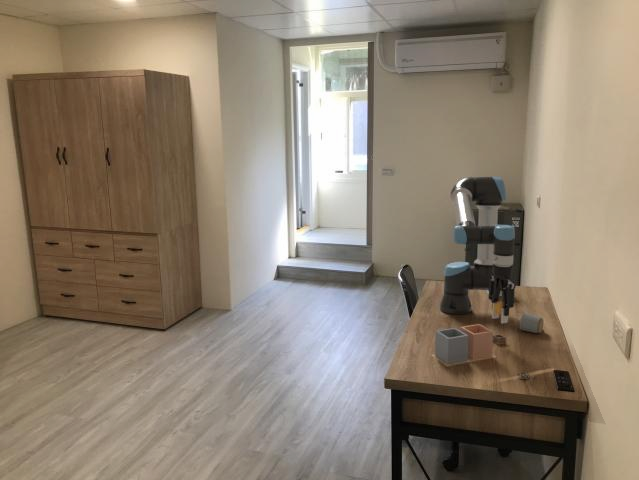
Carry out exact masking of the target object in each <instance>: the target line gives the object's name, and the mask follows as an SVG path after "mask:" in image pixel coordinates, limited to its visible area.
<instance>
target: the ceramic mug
mask: <svg viewBox="0 0 639 480" xmlns="http://www.w3.org/2000/svg"><path fill="white" fill-rule="evenodd" d="M543 328H544V318H543V317H541V316H538V315H534V314H530V313H527V312H523V313H522V315H521V317H520V320H519V329H520V331H523V332H528V333H534V334H541V332H542V331H543Z"/></svg>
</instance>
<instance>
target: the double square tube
mask: <svg viewBox="0 0 639 480" xmlns="http://www.w3.org/2000/svg"><path fill="white" fill-rule="evenodd" d="M493 335H494V330H492V329H490V328H488V327H486V326H484V325H482V324H481V323H477V324H472V325H464V326H460V327H459V329H458V328H457V327H451V328H447V329H446V328H445V329H440V330H439V329H438V330H435V335H434V336H435V339H434V340H435V342H434V343H435V345H434V347H435V348H434V354H430V356H431V357H433V358H434V359H436V360H437V361H439V363H441V364H443V365H444V366H445V367H451V366H456V365H462V364H466V363H473V362H479V361H483V360H489V359H495V358H497V356H496V355H494V354H493V346H494V345H493V343H494V342H493Z"/></svg>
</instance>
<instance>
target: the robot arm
mask: <svg viewBox="0 0 639 480" xmlns="http://www.w3.org/2000/svg"><path fill="white" fill-rule="evenodd" d="M450 201H451V203H452V204H453V207H454V215H455V222H456V225H455V226H454V227H453V230H452V239H453V240H452V241H453V243H454V244H456V245H457V244H458V245H477V258H476V259H475V260H474V261H473V265H470V262H467V261H456V262H455V261H454V262H451V263H448V264H446V266H445V267H444V273H443V276H444V280H443V281H444V282H443V295H442V297H441V300H440V302H439V310H440V311H441V312H443V313H446V314H451V315H466V314H469V313H470V314H471V312H472V308H473V307H472V303H471V300H470V296H469V291H470V290H471V291H472V290H473V291H477V290H478V291H486V290H488V291H489V295H488V300H489V301H491V310H492V311H491V319H499V318H500V317H501V318H500V324H506V323H508V322H509V315H510V309H511V308H514V306H515V304H514V303H515V289H516V287H517V284H516V283H513V282H512V280H511V276H512V275H513V270H514V267H513V264H514V255H515V253H514V252H515V250H514V249H515V239H516V232H515V230H516V229H515V227H514V226H513V225H510V224H498V217H499V216H498V215H499V213H498V210H499V209H500V208H501V207H502V203H504V202H505V201H506V187H505V182H504V179H503V178H501V177H500V176H499V177H498V176H468V177H465V178H462V179H460V180H459V181H457V182H456V183H455V184H454V185H453V187H452V189H451V191H450ZM473 202H474V203H475V207H476V208H477V209H478V224H477V225H476V220H475V216H474V211H473V206H472V203H473ZM503 288H505V289H503ZM500 291H502V296H501V297H502V303H503V307H502V313H501V316H500V317H499V314H497V313H496V312H495V311H494V305H495V304H496V303H498V302H500V300H499V298H500V296H499V295H500Z"/></svg>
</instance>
